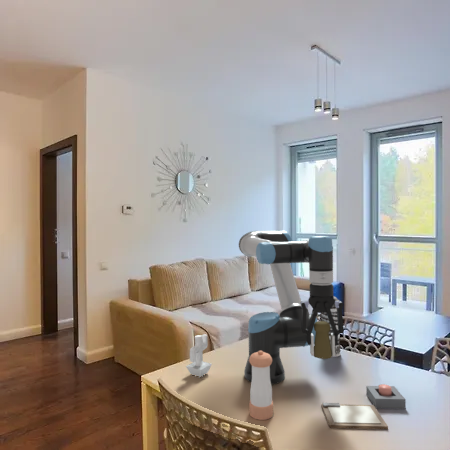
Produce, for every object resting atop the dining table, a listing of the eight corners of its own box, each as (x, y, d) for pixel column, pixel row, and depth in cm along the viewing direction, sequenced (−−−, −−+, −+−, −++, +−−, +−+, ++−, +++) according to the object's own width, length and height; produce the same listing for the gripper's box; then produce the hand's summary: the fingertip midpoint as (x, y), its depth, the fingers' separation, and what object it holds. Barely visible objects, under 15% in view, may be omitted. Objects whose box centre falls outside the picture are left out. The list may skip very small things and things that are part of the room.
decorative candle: (329, 358, 155) (328, 299, 155) (315, 351, 163) (314, 296, 163) (346, 355, 158) (345, 297, 158) (331, 348, 167) (331, 294, 167)
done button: (381, 397, 116) (381, 389, 116) (377, 391, 119) (376, 384, 119) (393, 397, 115) (393, 389, 115) (389, 391, 119) (388, 384, 119)
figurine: (184, 376, 139) (183, 337, 139) (199, 368, 147) (198, 331, 146) (199, 381, 135) (198, 340, 135) (213, 372, 143) (213, 333, 143)
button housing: (375, 408, 113) (375, 398, 113) (366, 394, 122) (366, 385, 122) (405, 408, 113) (405, 399, 113) (394, 395, 122) (394, 386, 122)
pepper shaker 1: (271, 407, 115) (270, 346, 115) (275, 419, 108) (274, 354, 107) (248, 407, 115) (247, 347, 115) (250, 420, 107) (249, 355, 107)
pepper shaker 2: (332, 359, 115) (332, 324, 115) (313, 358, 117) (312, 323, 117) (331, 352, 121) (330, 319, 121) (312, 351, 122) (312, 319, 122)
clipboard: (329, 427, 103) (329, 422, 103) (321, 406, 115) (321, 402, 115) (388, 429, 102) (388, 424, 102) (373, 407, 114) (373, 403, 114)
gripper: (293, 285, 116) (294, 358, 116) (354, 285, 115) (355, 358, 114) (290, 281, 123) (291, 350, 123) (347, 281, 122) (349, 350, 122)
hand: (322, 354), depth 119 cm, fingers closed on pepper shaker 2, 6 cm apart
